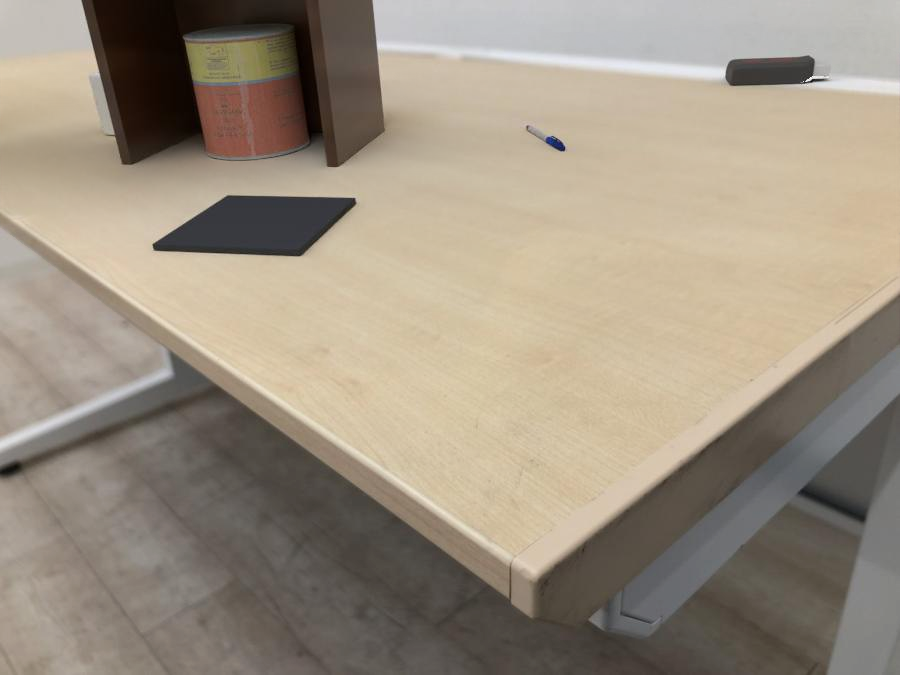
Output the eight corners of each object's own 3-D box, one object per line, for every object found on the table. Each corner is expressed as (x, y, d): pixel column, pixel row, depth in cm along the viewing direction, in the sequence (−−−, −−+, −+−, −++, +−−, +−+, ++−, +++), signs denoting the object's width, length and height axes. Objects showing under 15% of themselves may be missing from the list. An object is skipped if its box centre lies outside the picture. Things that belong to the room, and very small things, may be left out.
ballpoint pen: (568, 151, 79) (568, 141, 79) (560, 153, 79) (560, 142, 79) (529, 130, 88) (530, 121, 88) (522, 131, 88) (522, 121, 88)
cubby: (121, 164, 85) (63, -72, 74) (194, 130, 97) (152, -75, 87) (338, 166, 79) (306, -89, 69) (385, 130, 92) (364, -90, 81)
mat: (153, 250, 61) (151, 243, 60) (228, 200, 71) (227, 194, 71) (300, 255, 58) (299, 249, 57) (356, 203, 68) (355, 197, 68)
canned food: (279, 129, 95) (262, 21, 90) (329, 144, 87) (314, 26, 82) (189, 148, 89) (165, 34, 83) (234, 166, 81) (211, 41, 75)
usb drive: (724, 78, 107) (727, 56, 106) (819, 75, 105) (823, 53, 104) (730, 85, 103) (733, 63, 102) (830, 82, 101) (833, 59, 100)
